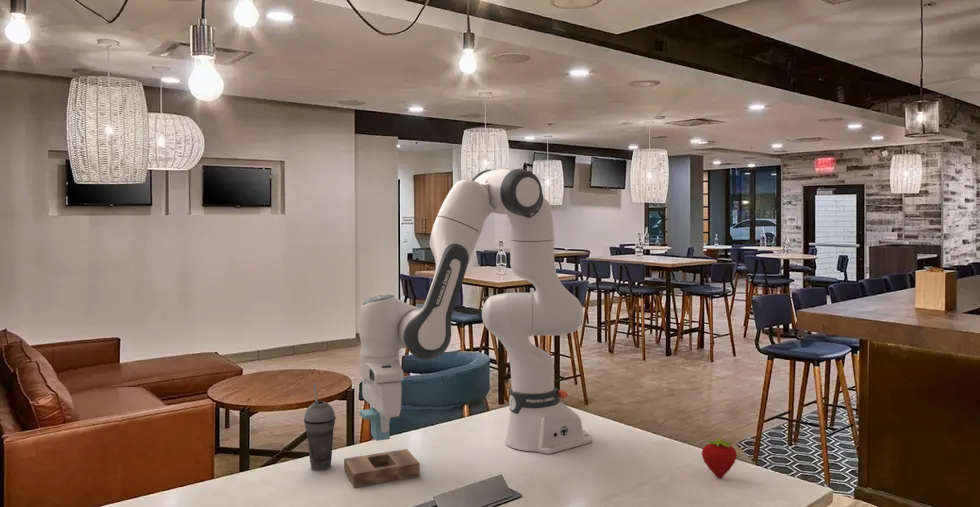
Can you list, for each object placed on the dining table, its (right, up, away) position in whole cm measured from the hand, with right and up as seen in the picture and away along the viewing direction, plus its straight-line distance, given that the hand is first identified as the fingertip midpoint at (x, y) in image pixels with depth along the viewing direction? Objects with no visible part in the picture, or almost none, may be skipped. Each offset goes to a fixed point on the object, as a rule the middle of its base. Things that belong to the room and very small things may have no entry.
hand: (380, 427), depth 150 cm
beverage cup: (-15, -11, +6) cm, 19 cm away
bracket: (-1, -2, 0) cm, 2 cm away
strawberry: (+76, -11, -3) cm, 77 cm away
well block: (0, -11, +1) cm, 11 cm away
